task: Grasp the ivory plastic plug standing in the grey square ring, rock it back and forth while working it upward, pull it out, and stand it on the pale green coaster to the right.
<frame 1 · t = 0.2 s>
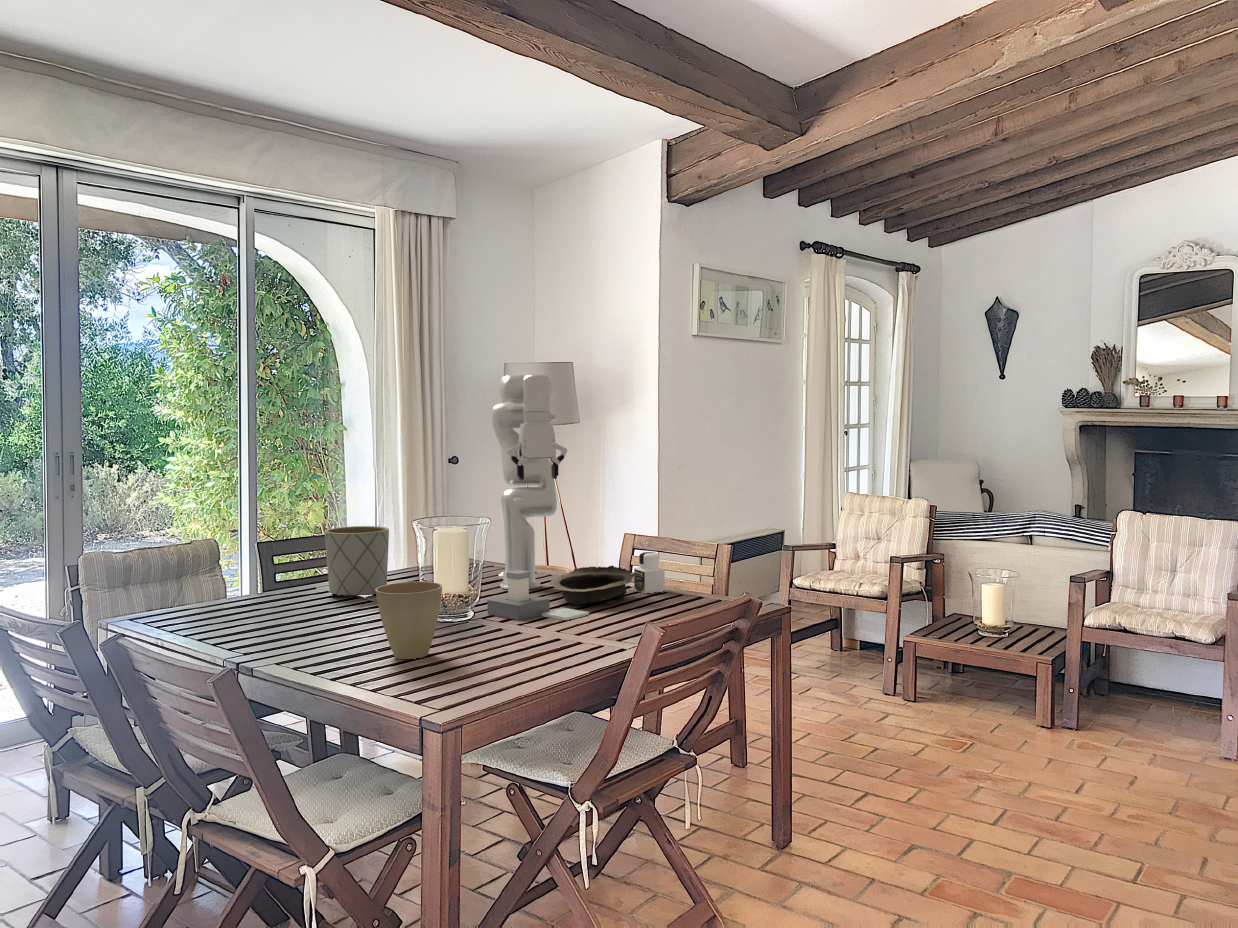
hand: (537, 479, 273), 37 cm above the table, tool pointing down, fingers open, 9 cm apart
coaster: (565, 615, 263), on the table
grey square ring: (518, 613, 267), on the table
plug: (518, 592, 266), in the grey square ring
planter: (358, 594, 297), on the table
stone bowl: (592, 602, 283), on the table
plant pot: (410, 656, 221), on the table
medicine bottle: (649, 591, 298), on the table
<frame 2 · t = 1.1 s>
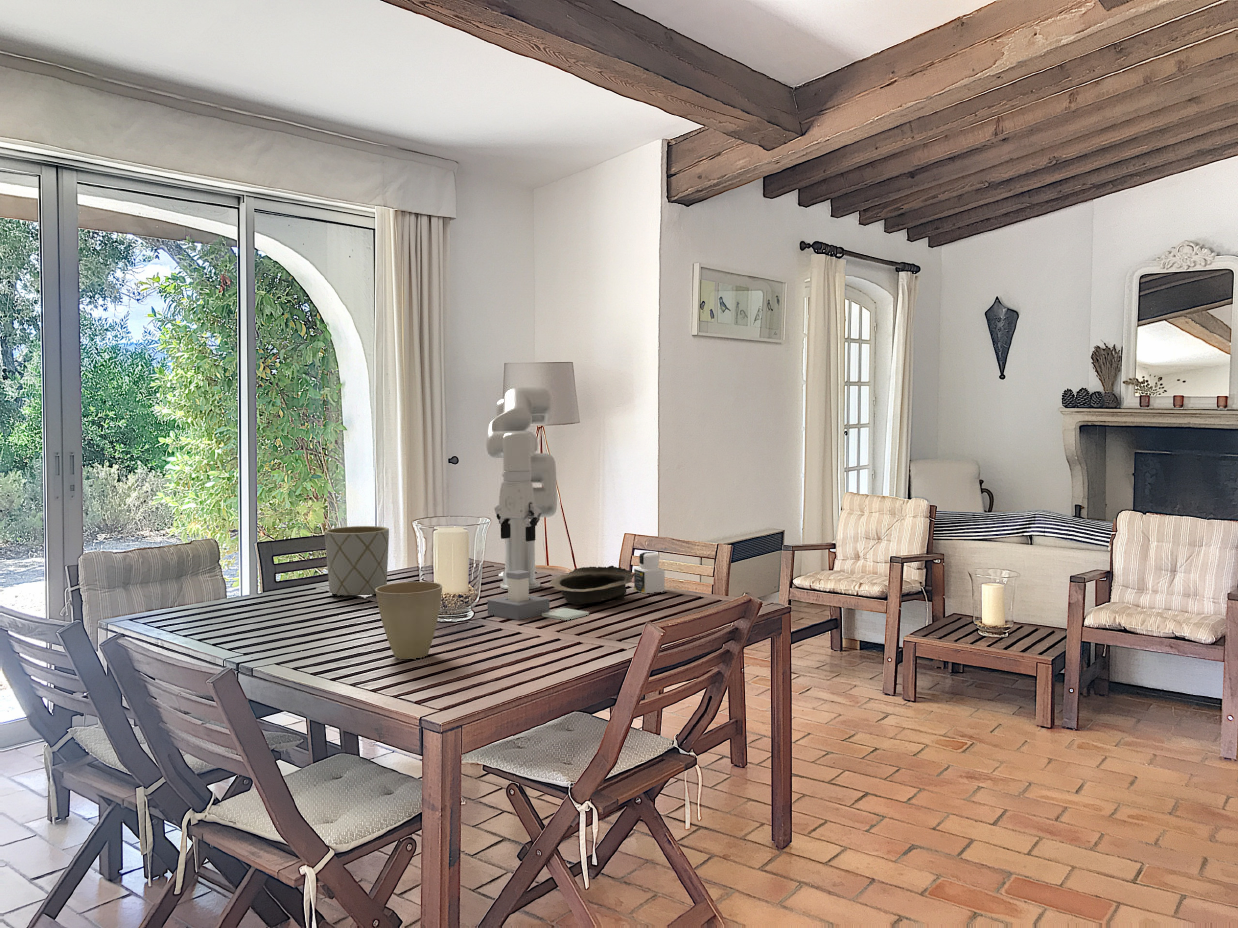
hand: (518, 539, 265), 21 cm above the table, tool pointing down, fingers open, 9 cm apart
nothing on the table moved.
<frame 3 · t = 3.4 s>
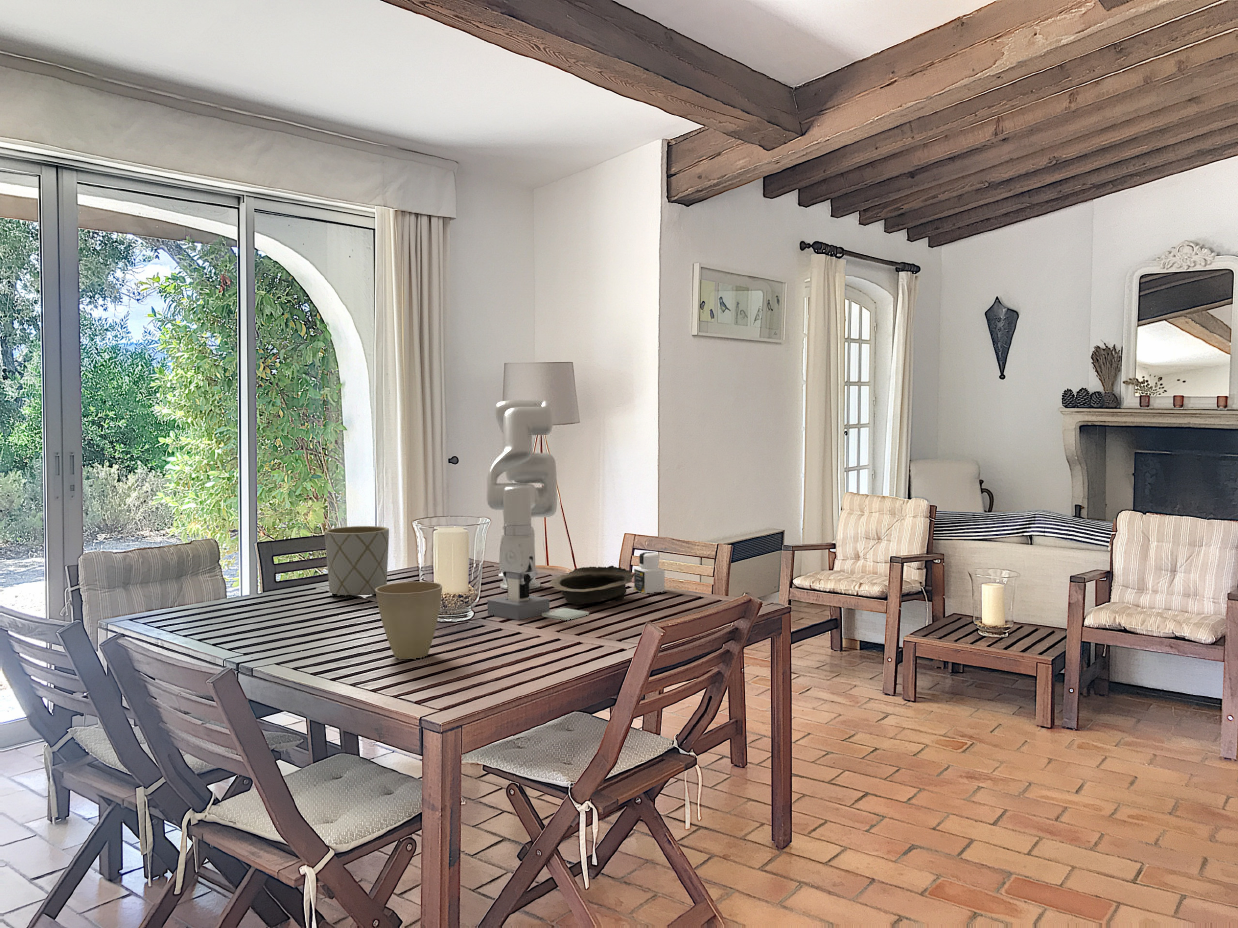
hand: (518, 596, 266), 5 cm above the table, tool pointing down, fingers closed on plug, 4 cm apart
plug: (518, 592, 266), in the grey square ring, touching gripper
everything else where it was.
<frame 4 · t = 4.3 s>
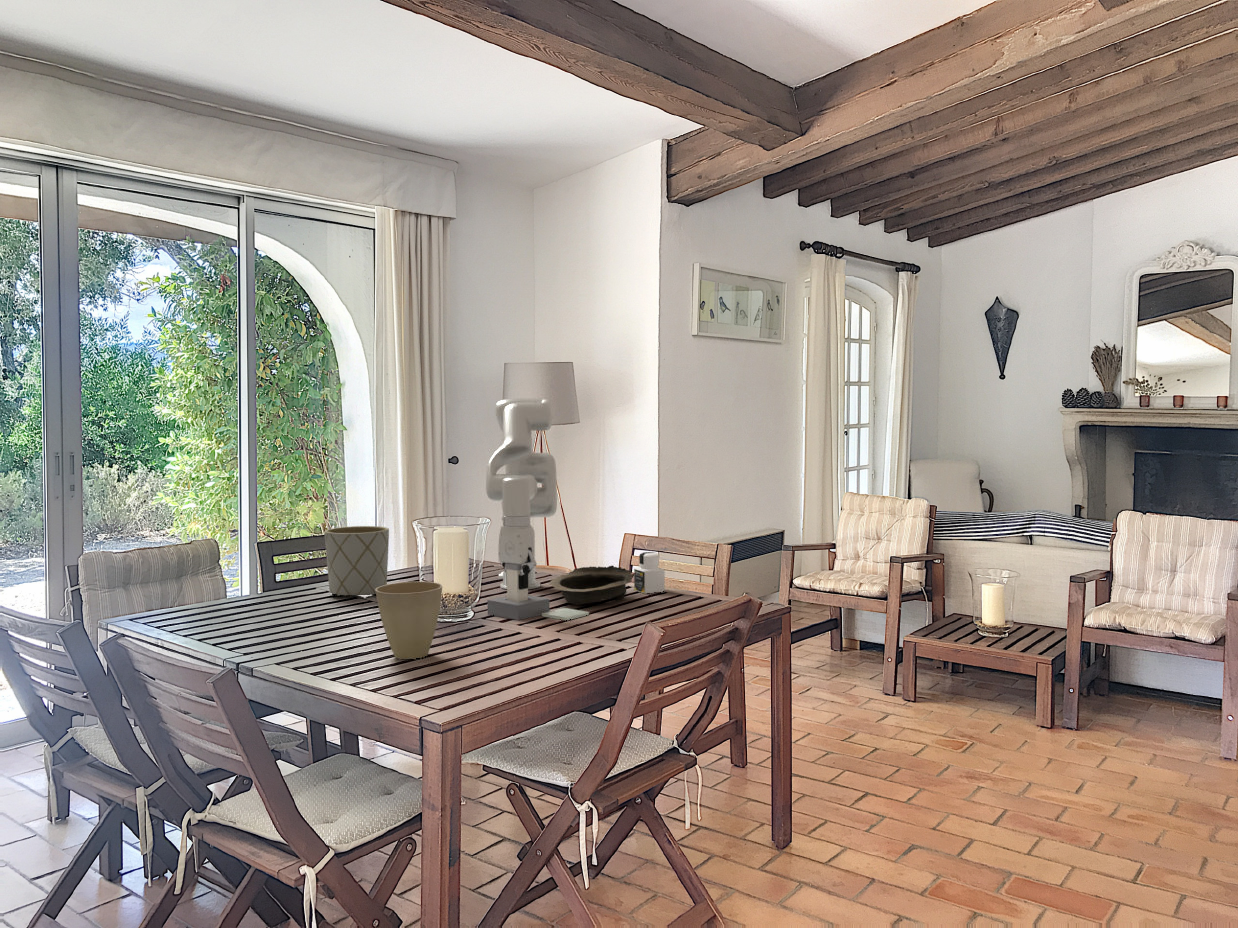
hand: (517, 587, 267), 7 cm above the table, tool pointing down, fingers closed on plug, 4 cm apart
plug: (517, 583, 267), point 8 cm above the table, touching gripper
everything else where it was.
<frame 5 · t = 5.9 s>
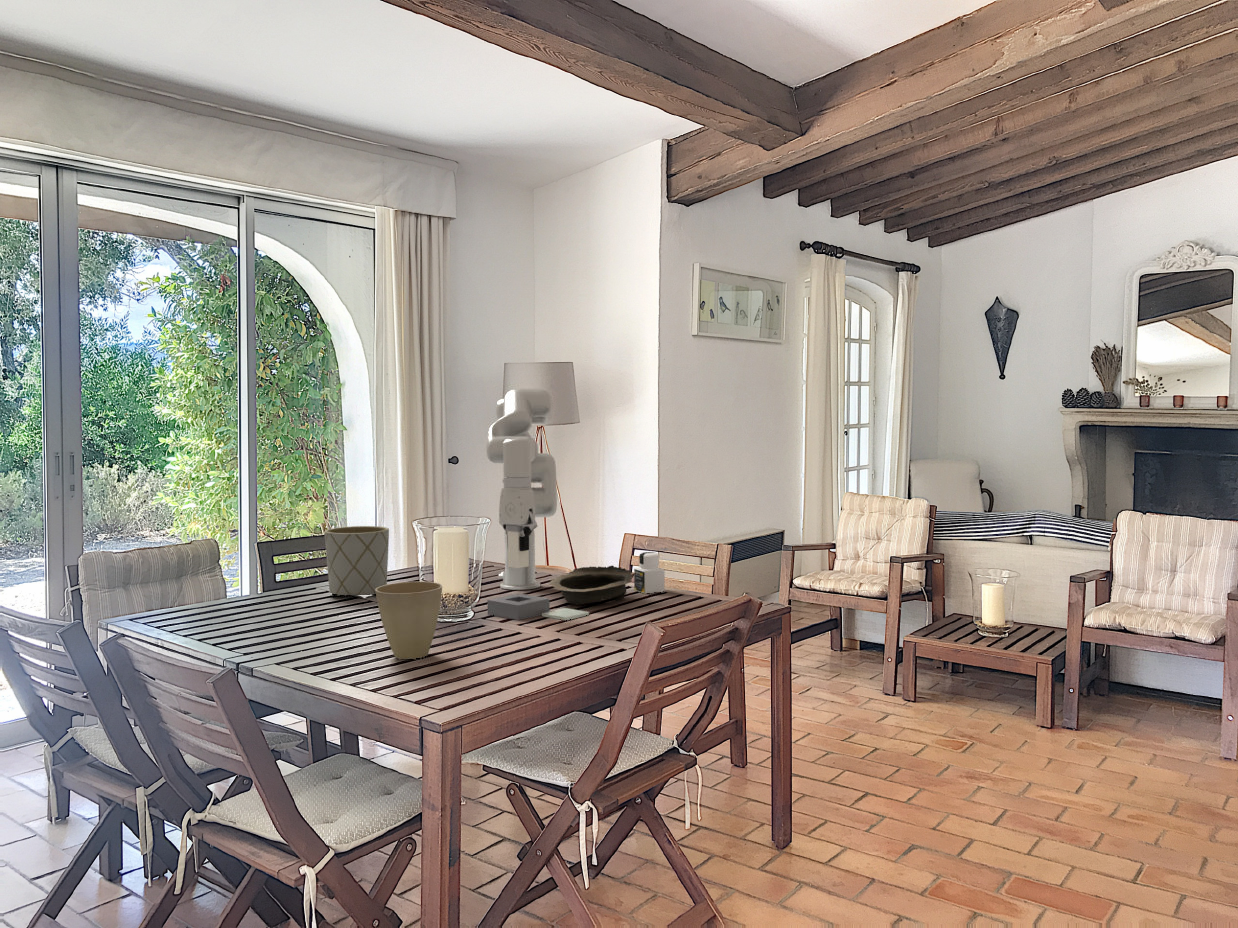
hand: (518, 548, 266), 18 cm above the table, tool pointing down, fingers closed on plug, 4 cm apart
plug: (518, 545, 266), point 19 cm above the table, touching gripper
everything else where it was.
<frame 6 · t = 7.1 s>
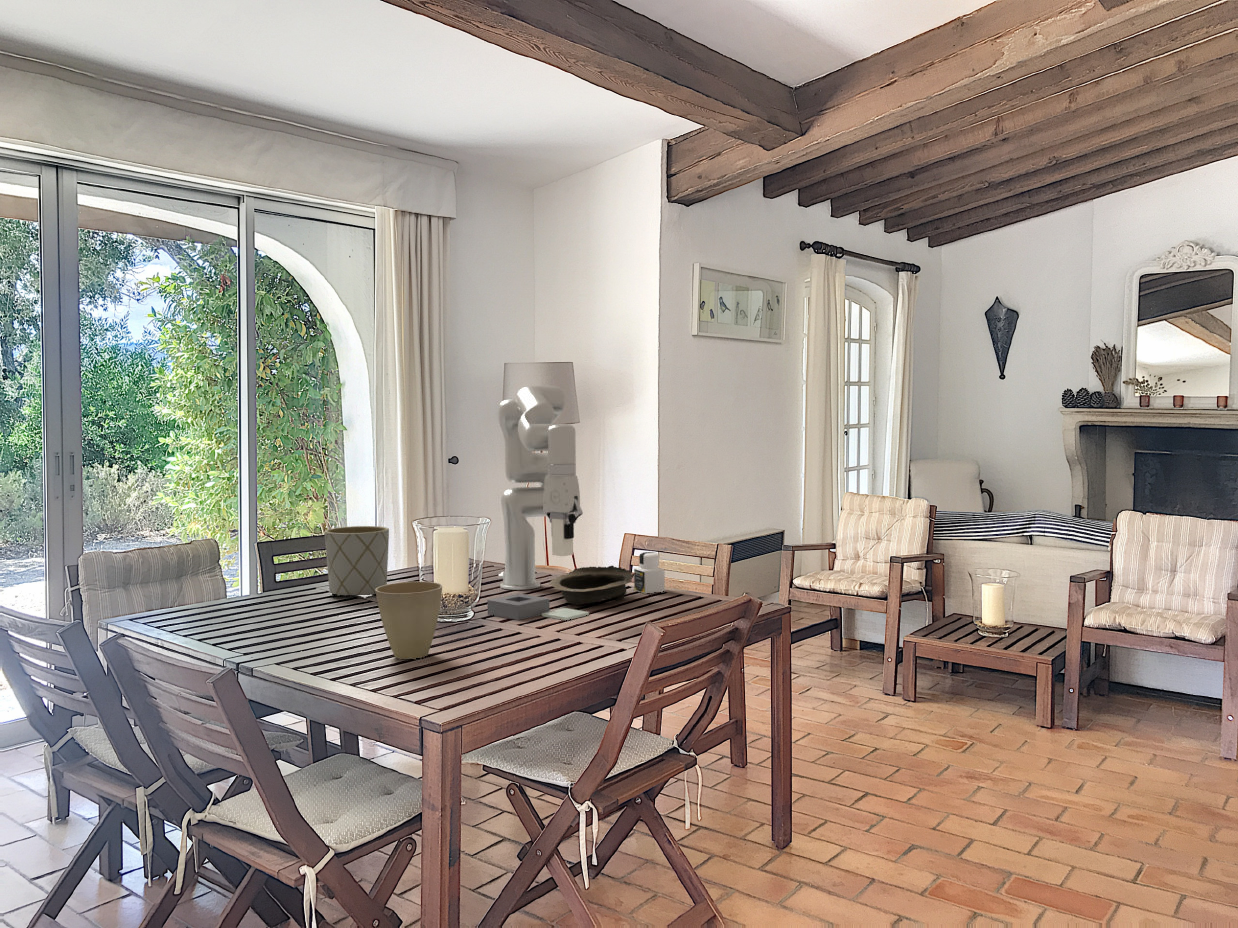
hand: (562, 537, 262), 21 cm above the table, tool pointing down, fingers closed on plug, 4 cm apart
plug: (562, 533, 262), point 22 cm above the table, touching gripper
everything else where it was.
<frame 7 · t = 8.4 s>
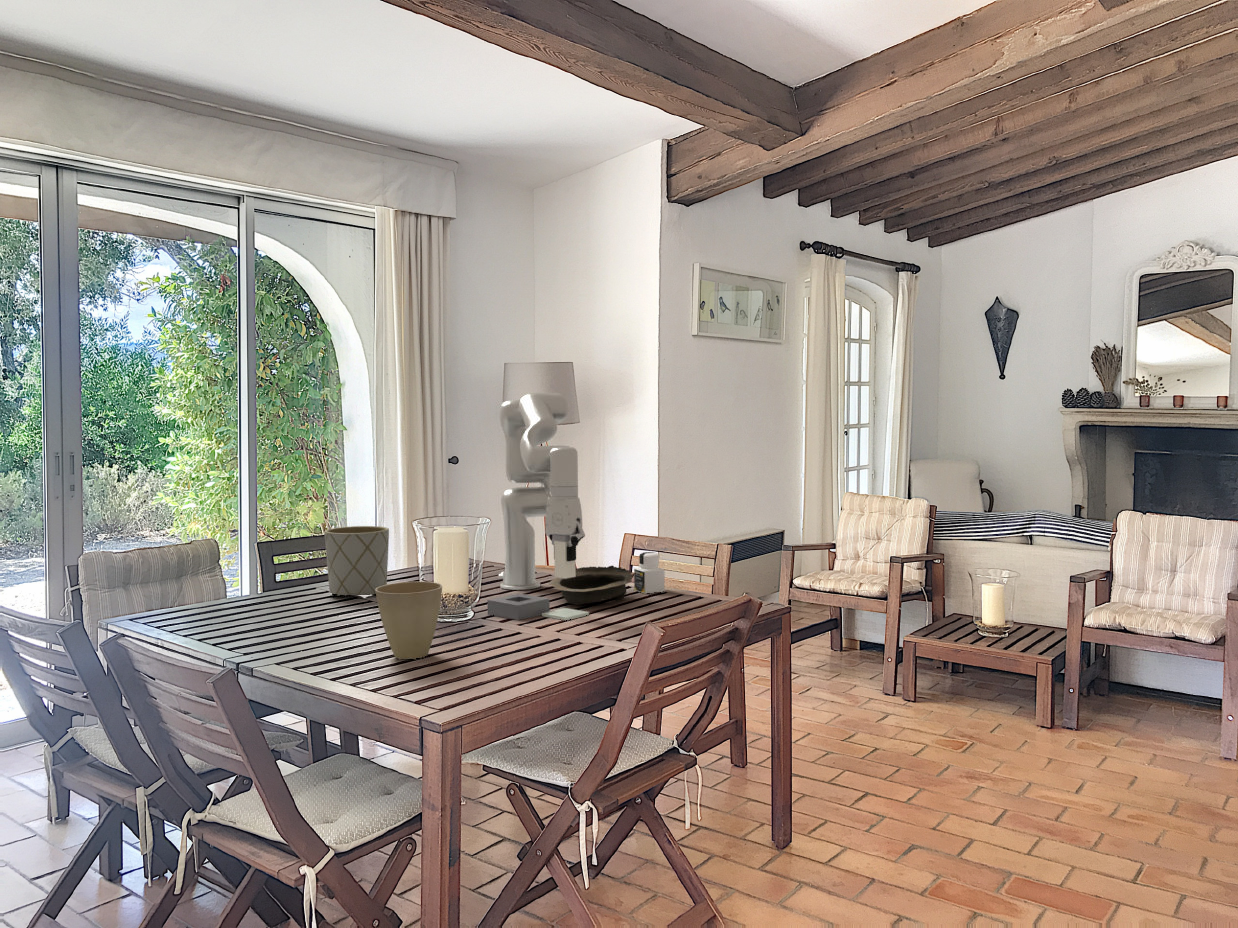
hand: (565, 559, 262), 15 cm above the table, tool pointing down, fingers closed on plug, 4 cm apart
plug: (564, 555, 262), point 16 cm above the table, touching gripper
everything else where it was.
when the fingers open (7 cm above the table, at t = 10.2 s): plug drops 1 cm, resting on coaster.
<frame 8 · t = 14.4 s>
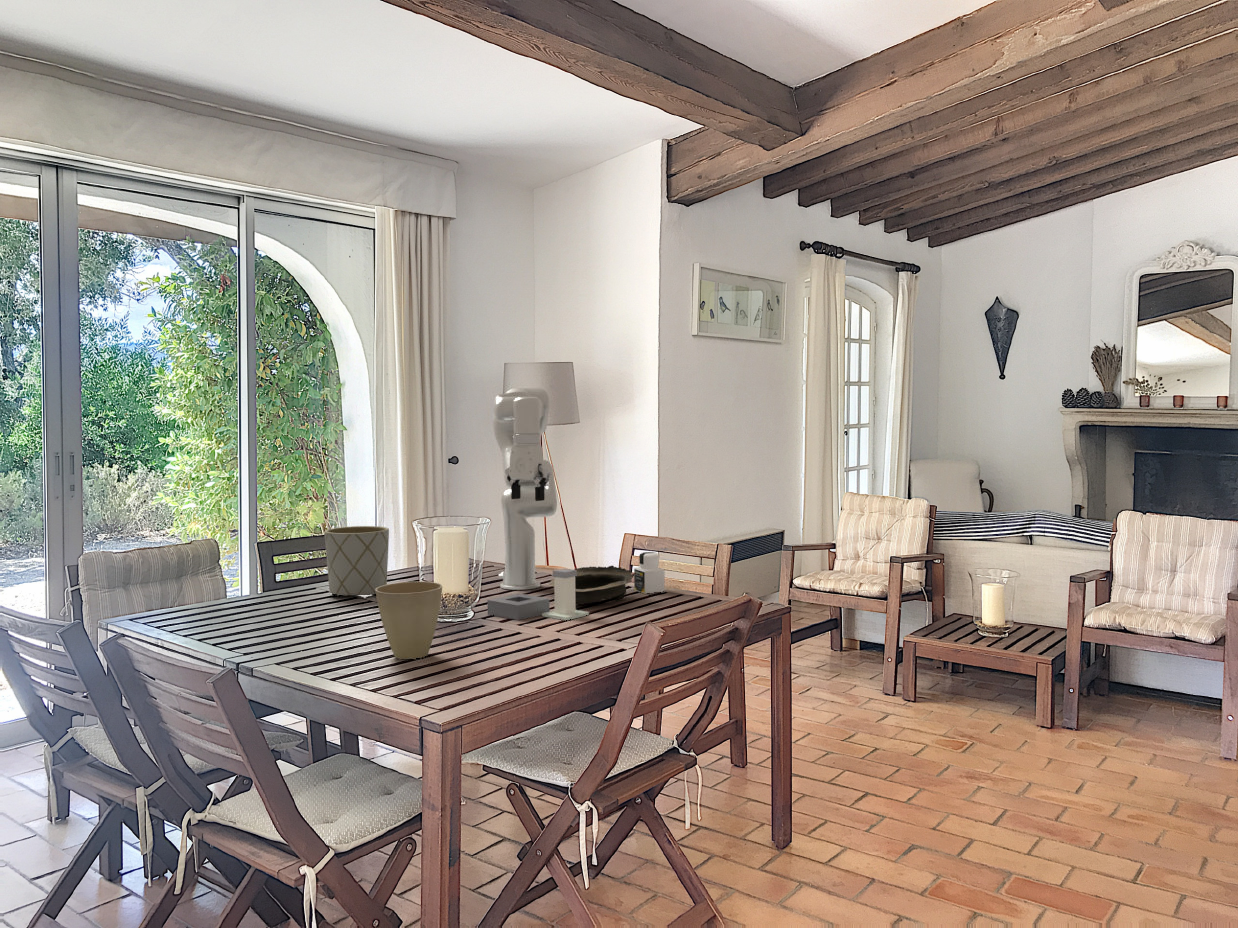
hand: (527, 499, 278), 30 cm above the table, tool pointing down, fingers open, 9 cm apart
plug: (564, 591, 263), on the coaster, point 7 cm above the table
everything else where it was.
at the end: plug inside the target area on the coaster (0.1 cm from its centre), point 6.6 cm above the coaster's base; plug tilted 0°; plug touching coaster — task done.
